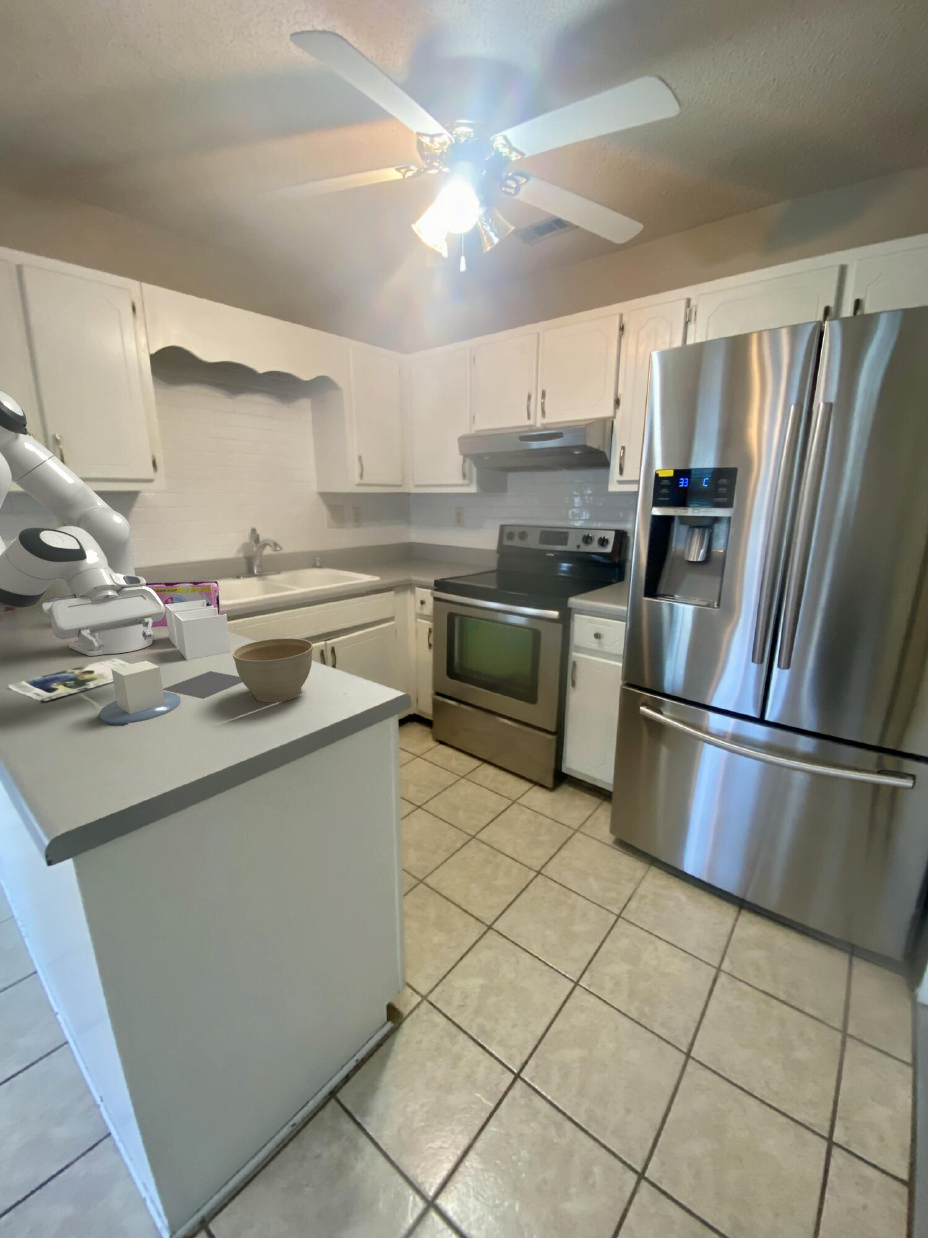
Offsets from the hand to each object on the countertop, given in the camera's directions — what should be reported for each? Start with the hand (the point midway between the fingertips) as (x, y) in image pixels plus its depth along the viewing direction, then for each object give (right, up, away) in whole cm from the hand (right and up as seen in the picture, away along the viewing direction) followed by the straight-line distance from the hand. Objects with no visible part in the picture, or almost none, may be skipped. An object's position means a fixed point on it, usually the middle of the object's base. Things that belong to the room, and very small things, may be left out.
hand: (125, 643), depth 106 cm
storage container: (-6, -3, +42) cm, 42 cm away
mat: (+11, -10, +11) cm, 19 cm away
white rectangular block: (+5, -12, -2) cm, 13 cm away
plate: (+5, -13, -2) cm, 14 cm away
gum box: (-25, +4, +67) cm, 72 cm away
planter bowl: (+30, -12, +6) cm, 32 cm away
